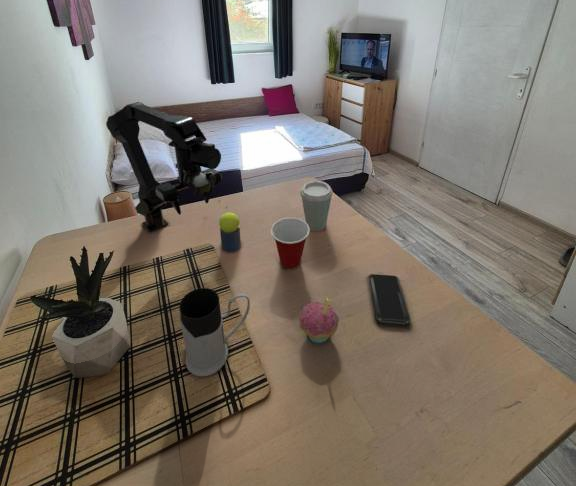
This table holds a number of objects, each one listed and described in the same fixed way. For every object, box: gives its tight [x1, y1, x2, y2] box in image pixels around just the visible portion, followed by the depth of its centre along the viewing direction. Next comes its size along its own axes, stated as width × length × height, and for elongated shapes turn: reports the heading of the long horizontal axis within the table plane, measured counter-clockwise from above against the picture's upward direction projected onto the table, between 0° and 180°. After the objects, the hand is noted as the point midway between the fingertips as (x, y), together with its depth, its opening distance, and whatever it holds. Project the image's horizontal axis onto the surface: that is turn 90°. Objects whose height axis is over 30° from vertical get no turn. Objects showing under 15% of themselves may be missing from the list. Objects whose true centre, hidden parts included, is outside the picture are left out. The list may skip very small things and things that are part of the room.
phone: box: [368, 273, 411, 327], centre depth 82 cm, size 8×1×15 cm
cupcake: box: [298, 296, 340, 344], centre depth 71 cm, size 9×8×12 cm
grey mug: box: [178, 287, 251, 377], centre depth 66 cm, size 9×14×15 cm, turn 113°
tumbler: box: [219, 225, 242, 253], centre depth 100 cm, size 6×6×7 cm
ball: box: [218, 212, 240, 233], centre depth 98 cm, size 6×6×6 cm
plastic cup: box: [270, 216, 311, 270], centre depth 92 cm, size 11×11×12 cm
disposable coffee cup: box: [299, 180, 334, 232], centre depth 108 cm, size 11×11×15 cm
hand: (193, 208), depth 99 cm, fingers open, 9 cm apart
